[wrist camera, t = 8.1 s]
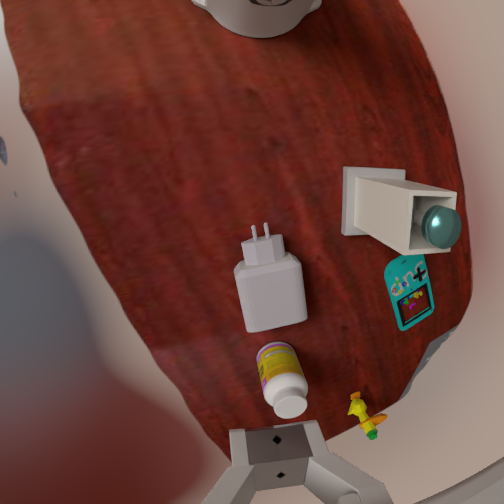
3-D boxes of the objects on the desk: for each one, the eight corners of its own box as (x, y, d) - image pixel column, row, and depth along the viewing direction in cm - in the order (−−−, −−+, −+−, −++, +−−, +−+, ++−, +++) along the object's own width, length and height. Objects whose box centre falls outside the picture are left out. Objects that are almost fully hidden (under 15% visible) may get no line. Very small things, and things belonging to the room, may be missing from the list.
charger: (288, 214, 46) (301, 305, 51) (224, 226, 46) (244, 318, 50) (296, 221, 42) (309, 320, 46) (226, 235, 41) (247, 334, 46)
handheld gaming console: (421, 245, 49) (435, 311, 54) (418, 243, 50) (432, 309, 55) (382, 268, 50) (401, 333, 54) (379, 266, 51) (398, 330, 55)
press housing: (343, 166, 45) (399, 176, 30) (400, 169, 46) (465, 181, 31) (341, 232, 48) (391, 268, 33) (396, 230, 49) (456, 262, 34)
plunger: (378, 189, 40) (432, 206, 28) (407, 190, 40) (464, 206, 29) (376, 225, 41) (427, 252, 30) (405, 224, 41) (459, 249, 30)
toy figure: (370, 383, 58) (395, 423, 47) (371, 395, 59) (394, 433, 48) (339, 395, 58) (360, 437, 47) (341, 406, 59) (361, 447, 48)
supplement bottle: (252, 345, 52) (263, 397, 40) (291, 335, 52) (311, 384, 40) (260, 374, 54) (271, 427, 42) (296, 365, 54) (316, 415, 42)
